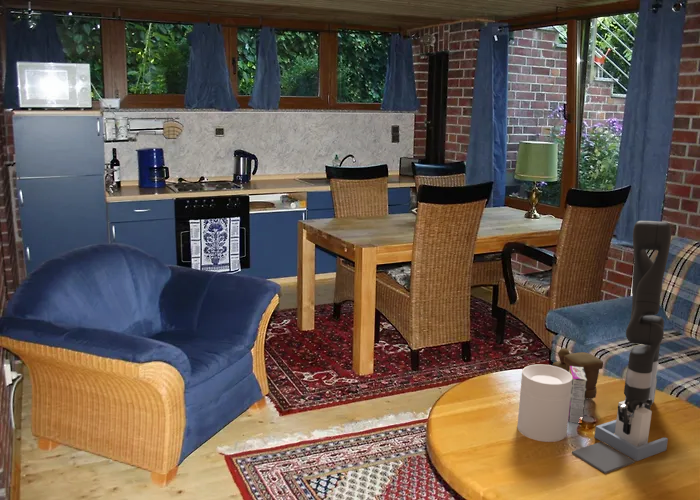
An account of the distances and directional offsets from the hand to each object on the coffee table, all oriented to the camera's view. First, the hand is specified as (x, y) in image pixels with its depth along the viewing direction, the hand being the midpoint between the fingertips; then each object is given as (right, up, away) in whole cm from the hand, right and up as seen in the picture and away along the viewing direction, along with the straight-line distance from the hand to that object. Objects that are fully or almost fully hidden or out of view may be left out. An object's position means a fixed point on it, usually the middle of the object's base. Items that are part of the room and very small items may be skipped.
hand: (631, 431), depth 220 cm
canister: (-26, -2, +9) cm, 28 cm away
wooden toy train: (-9, +4, +35) cm, 37 cm away
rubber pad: (-12, -6, -8) cm, 16 cm away
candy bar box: (-13, 0, +19) cm, 23 cm away
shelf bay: (0, -4, +1) cm, 4 cm away
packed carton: (0, -4, +1) cm, 4 cm away
